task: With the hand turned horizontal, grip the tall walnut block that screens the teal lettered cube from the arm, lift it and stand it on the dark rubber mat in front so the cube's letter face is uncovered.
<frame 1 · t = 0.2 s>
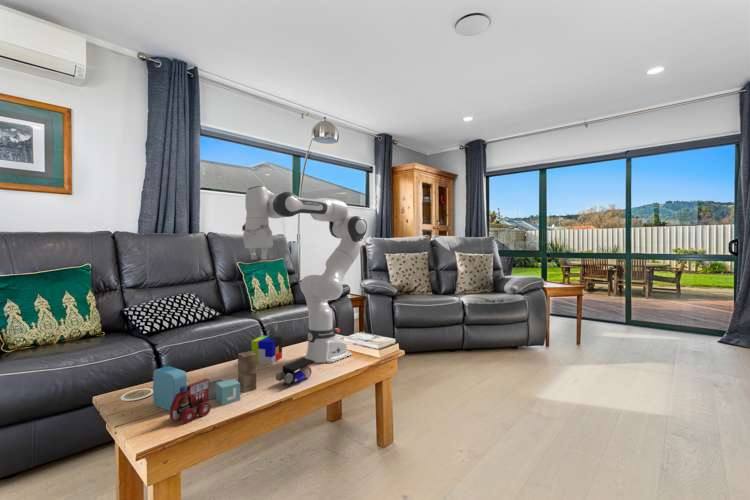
hand: (258, 259, 151), 47 cm above the table, tool pointing down, fingers open, 8 cm apart
toy car: (295, 382, 143), on the table
toy fire truck: (190, 417, 114), on the table
walnut block: (247, 388, 136), on the table
mat: (215, 389, 135), on the table
data package: (169, 406, 121), on the table
letter cube: (228, 400, 126), on the table
puzzle toy: (267, 360, 169), on the table
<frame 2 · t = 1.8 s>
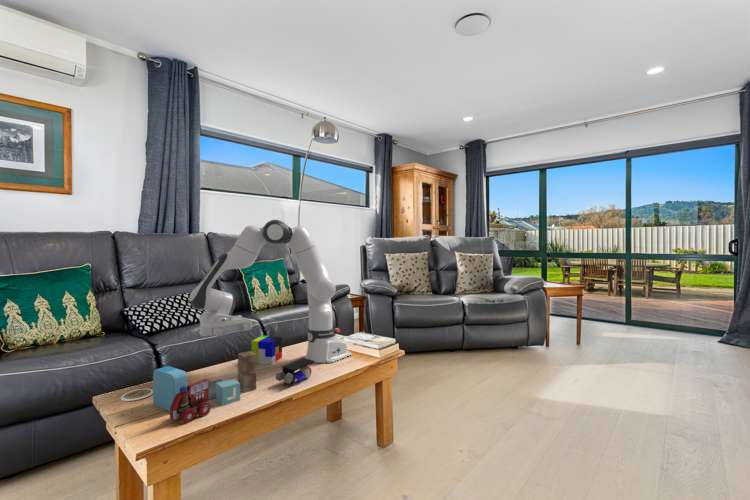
hand: (233, 330, 144), 19 cm above the table, tool horizontal, fingers open, 8 cm apart
nothing on the table moved.
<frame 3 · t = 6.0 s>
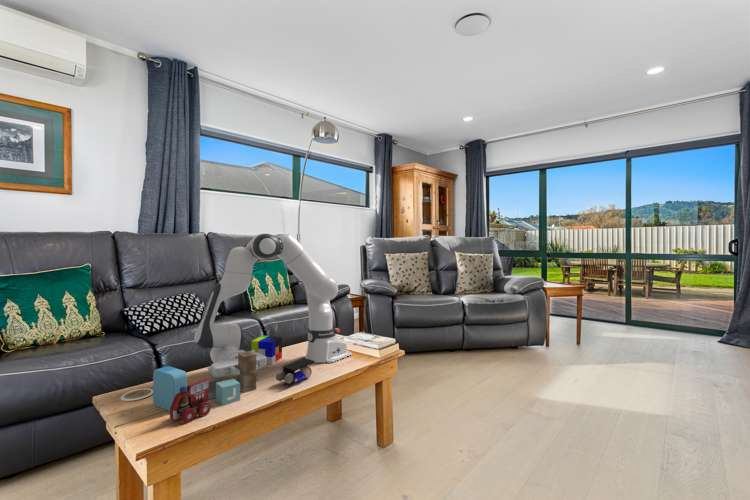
hand: (248, 370, 135), 7 cm above the table, tool horizontal, fingers closed on walnut block, 4 cm apart
walnut block: (247, 388, 136), on the table, touching gripper
everything else where it was.
when the fingers open (9 cm above the table, at t = 10.8 s): walnut block drops 1 cm, resting on mat.
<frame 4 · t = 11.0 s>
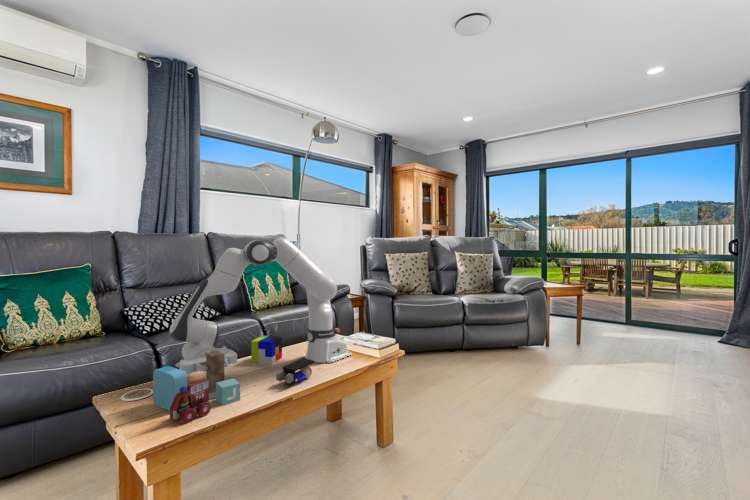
hand: (216, 367, 134), 9 cm above the table, tool horizontal, fingers open, 6 cm apart
walnut block: (215, 388, 135), resting on mat
everything else where it was.
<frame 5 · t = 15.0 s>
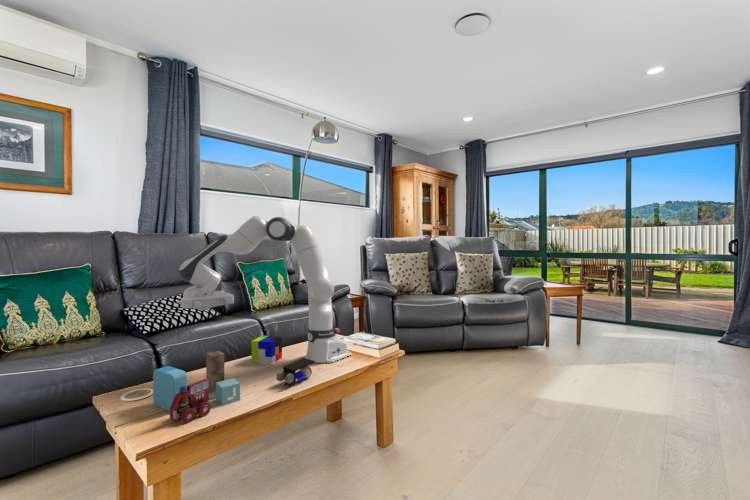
hand: (214, 303, 146), 30 cm above the table, tool horizontal, fingers open, 8 cm apart
nothing on the table moved.
at the end: walnut block inside the target area (0.0 cm from its centre), resting on mat; walnut block tilted 0°; letter cube moved 0.1 cm from its start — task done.
